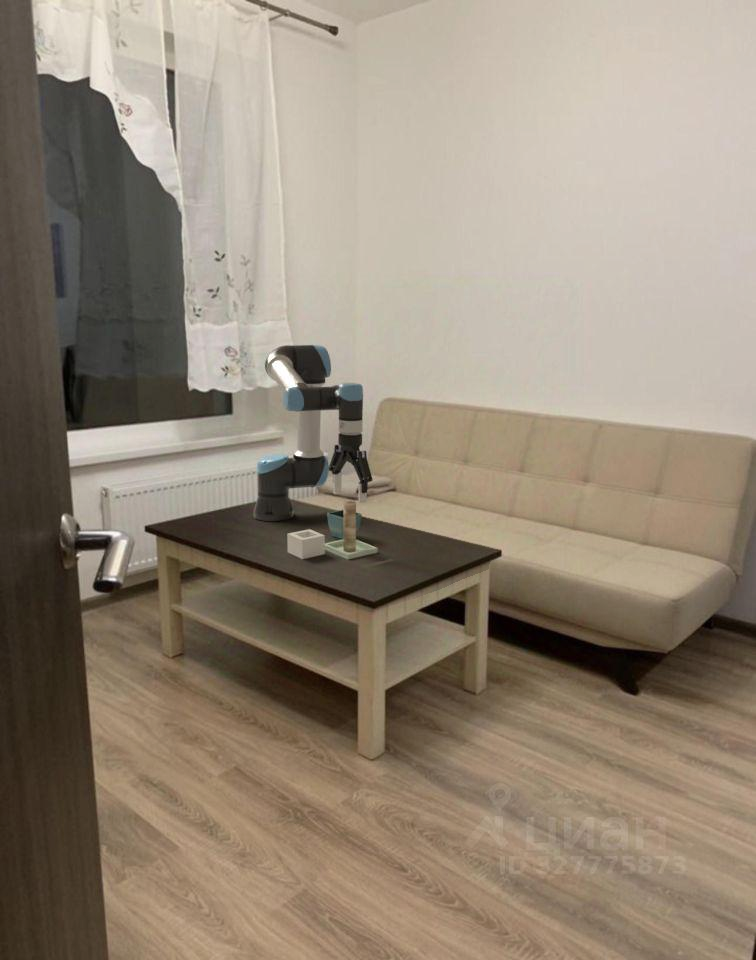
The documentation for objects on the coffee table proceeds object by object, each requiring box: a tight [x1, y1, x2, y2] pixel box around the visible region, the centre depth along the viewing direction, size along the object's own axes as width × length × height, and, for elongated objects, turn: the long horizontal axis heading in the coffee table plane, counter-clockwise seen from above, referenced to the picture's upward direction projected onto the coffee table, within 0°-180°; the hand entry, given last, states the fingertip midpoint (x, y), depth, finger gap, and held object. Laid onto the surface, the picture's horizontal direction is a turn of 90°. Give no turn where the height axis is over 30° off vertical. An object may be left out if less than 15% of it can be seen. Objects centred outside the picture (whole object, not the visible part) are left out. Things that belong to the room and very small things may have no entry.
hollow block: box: [286, 528, 326, 560], centre depth 242 cm, size 9×9×7 cm
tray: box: [325, 539, 378, 560], centre depth 245 cm, size 14×12×2 cm
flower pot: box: [326, 509, 363, 540], centre depth 260 cm, size 9×9×9 cm
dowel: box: [342, 500, 357, 552], centre depth 244 cm, size 4×4×16 cm
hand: (349, 498), depth 242 cm, fingers open, 13 cm apart
